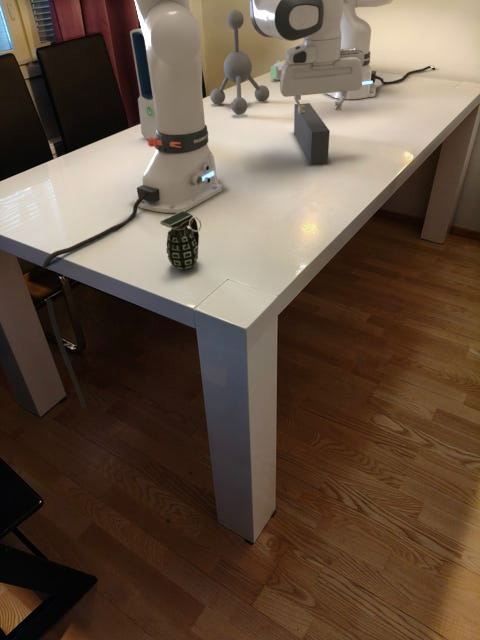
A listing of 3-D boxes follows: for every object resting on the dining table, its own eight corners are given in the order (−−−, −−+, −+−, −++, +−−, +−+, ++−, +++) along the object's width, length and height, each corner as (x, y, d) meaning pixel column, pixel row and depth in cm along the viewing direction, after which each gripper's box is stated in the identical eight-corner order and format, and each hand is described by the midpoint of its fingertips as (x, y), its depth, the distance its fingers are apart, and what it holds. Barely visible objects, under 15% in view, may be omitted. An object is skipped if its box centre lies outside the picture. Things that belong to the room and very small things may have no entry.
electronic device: (141, 137, 154) (123, 28, 136) (159, 131, 158) (144, 24, 140) (166, 145, 147) (151, 30, 129) (185, 138, 151) (172, 26, 133)
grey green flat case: (293, 53, 221) (333, 55, 211) (293, 68, 225) (332, 72, 215) (262, 63, 205) (303, 67, 195) (262, 80, 209) (303, 84, 199)
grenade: (182, 278, 88) (175, 228, 82) (162, 268, 91) (153, 219, 85) (208, 263, 92) (203, 214, 85) (187, 253, 95) (181, 205, 89)
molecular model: (288, 106, 174) (289, 7, 156) (237, 118, 165) (232, 15, 147) (250, 94, 190) (247, 3, 172) (202, 105, 181) (193, 10, 163)
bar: (327, 163, 129) (329, 130, 124) (310, 165, 129) (312, 132, 124) (308, 132, 151) (309, 103, 145) (293, 133, 151) (294, 104, 145)
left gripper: (361, 44, 119) (356, 104, 127) (278, 52, 118) (279, 111, 127) (368, 49, 114) (363, 111, 122) (282, 57, 113) (282, 118, 122)
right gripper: (366, -58, 136) (361, 1, 144) (293, -54, 135) (293, 5, 143) (373, -58, 131) (367, 3, 139) (297, -54, 130) (296, 7, 138)
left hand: (319, 111), depth 125 cm, fingers open, 8 cm apart
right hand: (329, 4), depth 141 cm, fingers open, 8 cm apart
